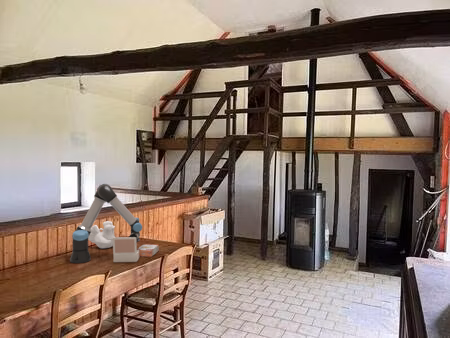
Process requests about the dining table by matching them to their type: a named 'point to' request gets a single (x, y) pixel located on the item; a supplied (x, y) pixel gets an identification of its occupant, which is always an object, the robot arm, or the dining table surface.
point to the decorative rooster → (102, 235)
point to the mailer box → (126, 257)
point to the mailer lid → (124, 245)
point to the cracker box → (148, 250)
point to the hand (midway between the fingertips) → (128, 244)
